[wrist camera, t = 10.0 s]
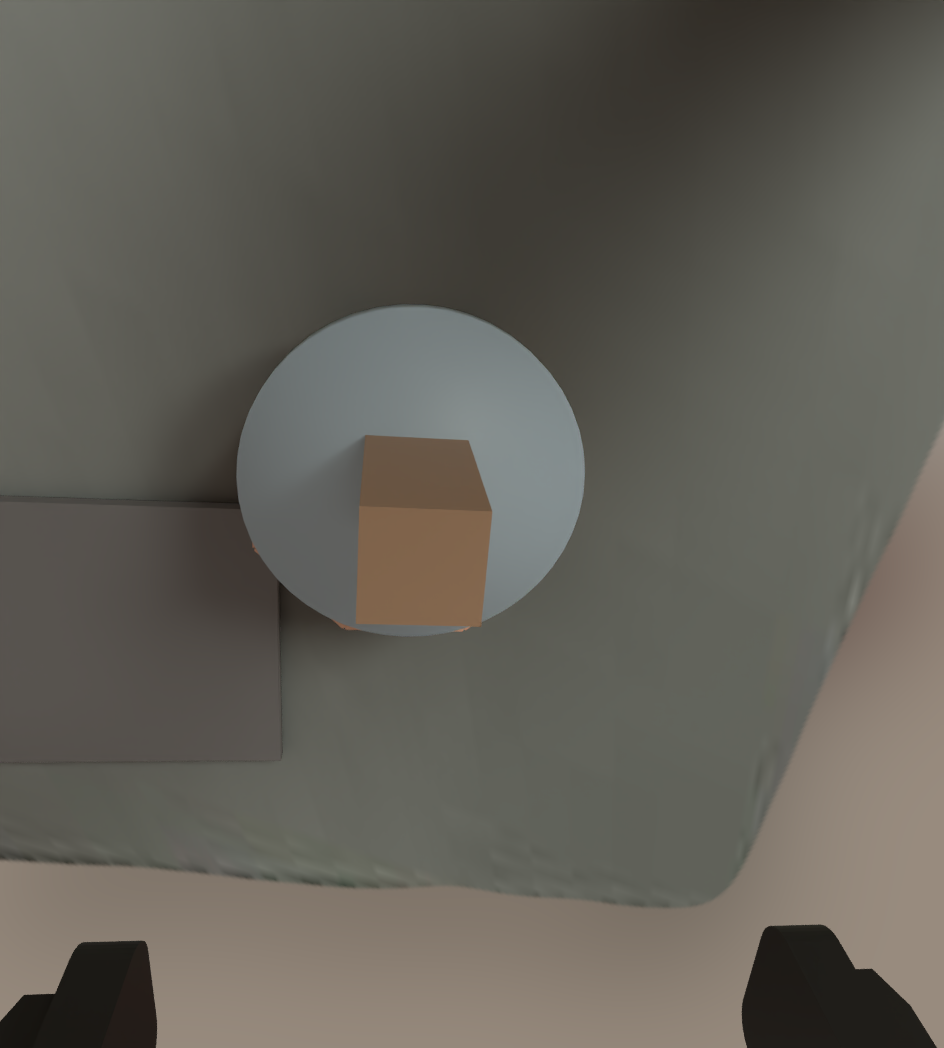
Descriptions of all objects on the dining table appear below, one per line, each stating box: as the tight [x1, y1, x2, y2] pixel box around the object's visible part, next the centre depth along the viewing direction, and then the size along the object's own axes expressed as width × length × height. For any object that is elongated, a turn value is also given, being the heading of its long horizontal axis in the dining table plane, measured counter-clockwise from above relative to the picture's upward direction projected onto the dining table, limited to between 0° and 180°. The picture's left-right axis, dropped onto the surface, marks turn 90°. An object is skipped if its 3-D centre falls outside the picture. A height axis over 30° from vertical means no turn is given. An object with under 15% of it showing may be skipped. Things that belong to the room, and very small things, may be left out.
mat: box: [0, 496, 283, 762], centre depth 32 cm, size 12×12×1 cm
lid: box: [236, 304, 585, 637], centre depth 23 cm, size 11×11×7 cm
